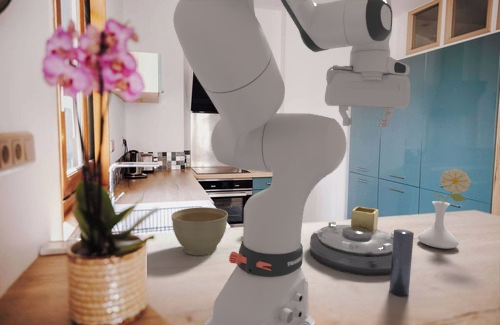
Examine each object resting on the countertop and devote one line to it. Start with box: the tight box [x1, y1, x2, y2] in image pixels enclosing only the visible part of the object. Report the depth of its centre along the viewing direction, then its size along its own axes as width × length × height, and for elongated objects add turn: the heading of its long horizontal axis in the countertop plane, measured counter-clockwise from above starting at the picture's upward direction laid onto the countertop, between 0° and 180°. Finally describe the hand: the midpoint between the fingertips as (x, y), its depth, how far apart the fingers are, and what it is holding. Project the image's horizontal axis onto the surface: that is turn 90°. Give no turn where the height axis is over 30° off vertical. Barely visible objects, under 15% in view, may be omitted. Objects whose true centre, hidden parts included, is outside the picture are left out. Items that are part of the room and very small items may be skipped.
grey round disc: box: [317, 206, 394, 256], centre depth 95 cm, size 22×22×7 cm
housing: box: [309, 230, 392, 277], centre depth 96 cm, size 26×26×4 cm
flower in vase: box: [417, 168, 472, 250], centre depth 104 cm, size 13×11×25 cm
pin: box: [388, 228, 414, 298], centre depth 74 cm, size 4×4×14 cm
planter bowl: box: [171, 206, 229, 256], centre depth 97 cm, size 16×16×11 cm
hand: (365, 126), depth 79 cm, fingers open, 8 cm apart
